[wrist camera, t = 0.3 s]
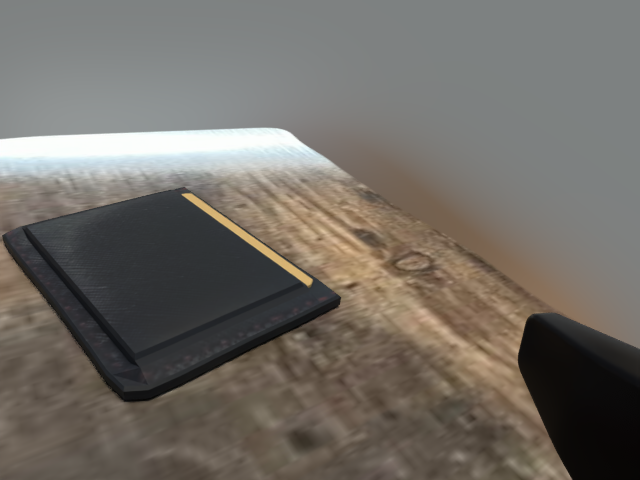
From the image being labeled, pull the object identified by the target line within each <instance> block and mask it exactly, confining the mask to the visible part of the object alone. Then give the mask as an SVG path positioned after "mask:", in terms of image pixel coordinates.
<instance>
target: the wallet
mask: <svg viewBox="0 0 640 480" xmlns="http://www.w3.org/2000/svg"><path fill="white" fill-rule="evenodd" d="M2 237H3V241H4V243H5V245H6V247H7V248H8V250H9V251H10V253H11V255H12V256H13V257H14V259H15V260H16V261H17V262H18V264H19V265H20V266H21V268H22V269H23V270H24V271H25V273H26V274H27V275H28V276H29V278H30V279H31V280H32V281H33V283H34V284H35V285H36V286H37V288H38V289H39V290H40V291H41V293H42V294H43V295H44V296H45V298H46V299H47V300H48V301H49V303H50V304H51V305H52V306H53V308H54V309H55V310H56V311H57V313H58V314H59V316H60V317H61V318H62V320H63V321H64V323H65V324H66V325H67V327H68V328H69V329H70V331H71V332H72V334H73V335H74V336H75V338H76V339H77V341H78V342H79V343H80V345H81V346H82V347H83V349H84V350H85V352H86V353H87V354H88V356H89V357H90V359H91V360H92V361H93V363H94V364H95V366H96V367H97V369H98V370H99V372H100V373H101V375H102V376H103V378H104V379H105V381H106V382H107V383H108V384H109V385H110V386H111V387H112V388H113V389H114V390H115V391H116V392H117V393H118V394H119V395H120V396H121V397H122V398H123V399H124V400H133V399H148V398H151V397H153V396H156V395H158V394H160V393H162V392H164V391H167V390H169V389H171V388H173V387H176V386H178V385H180V384H182V383H184V382H186V381H188V380H190V379H192V378H194V377H196V376H198V375H200V374H202V373H204V372H206V371H207V370H209V369H211V368H213V367H215V366H217V365H219V364H221V363H223V362H225V361H227V360H229V359H231V358H233V357H235V356H237V355H239V354H241V353H243V352H245V351H247V350H249V349H250V348H252V347H255V346H257V345H259V344H261V343H263V342H265V341H267V340H269V339H271V338H273V337H275V336H277V335H279V334H282V333H284V332H286V331H288V330H290V329H292V328H294V327H296V326H298V325H300V324H302V323H304V322H306V321H308V320H310V319H312V318H314V317H316V316H318V315H320V314H321V313H323V312H326V311H328V310H330V309H332V308H334V307H336V306H338V305H340V299H341V297H340V296H339V295H337V294H336V293H335V292H333V291H332V290H331V289H330V288H328V287H327V286H326V285H324V284H323V283H322V282H320V281H319V280H318V279H316V278H315V277H313V276H312V275H310V274H309V273H307V272H305V271H304V270H302V269H301V268H299V267H298V266H296V265H295V264H293V263H292V262H290V261H289V260H288V259H286V258H285V257H283V256H282V255H280V254H279V253H278V252H276V251H275V250H273V249H272V248H270V247H269V246H268V245H266V244H265V243H263V242H262V241H260V240H259V239H258V238H256V237H255V236H253V235H252V234H250V233H249V232H248V231H246V230H245V229H243V228H242V227H240V226H239V225H238V224H236V223H235V222H233V221H232V220H231V219H229V218H228V217H226V216H225V215H223V214H222V213H221V212H219V211H218V210H216V209H215V208H213V207H212V206H211V205H209V204H208V203H206V202H205V201H203V200H202V199H201V198H199V197H198V196H196V195H195V194H193V193H192V192H191V191H189V190H188V189H186V188H185V187H182V188H179V189H175V190H168V191H164V192H159V193H155V194H150V195H146V196H142V197H138V198H134V199H130V200H126V201H122V202H118V203H114V204H110V205H106V206H102V207H97V208H93V209H89V210H85V211H81V212H77V213H73V214H69V215H65V216H61V217H57V218H52V219H48V220H44V221H40V222H37V223H33V224H29V225H25V226H21V227H18V228H16V229H14V230H12V231H10V232H8V233H6V234H4V235H2Z"/></svg>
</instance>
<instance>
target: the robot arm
mask: <svg viewBox="0 0 640 480" xmlns="http://www.w3.org/2000/svg"><path fill="white" fill-rule="evenodd" d="M518 365H519V369H520V372H521V374H522V376H523V378H524V381H525V383H526V385H527V387H528V390H529V392H530V394H531V396H532V399H533V401H534V403H535V405H536V408H537V410H538V412H539V414H540V417H541V419H542V421H543V423H544V425H545V428H546V430H547V432H548V434H549V437H550V439H551V441H552V443H553V445H554V447H555V449H556V451H557V453H558V455H559V457H560V459H561V460H562V462H563V464H564V466H565V468H566V469H567V471H568V473H569V475H570V476H571V478H572V480H640V349H638V348H636V347H634V346H631V345H629V344H627V343H624V342H622V341H620V340H617V339H615V338H613V337H610V336H608V335H606V334H603V333H601V332H599V331H597V330H594V329H592V328H590V327H587V326H585V325H583V324H580V323H578V322H576V321H573V320H571V319H569V318H566V317H564V316H562V315H559V314H557V313H538V314H532V315H531V316H529V317H528V319H527V321H526V324H525V328H524V333H523V337H522V341H521V345H520V349H519V353H518Z"/></svg>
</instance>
